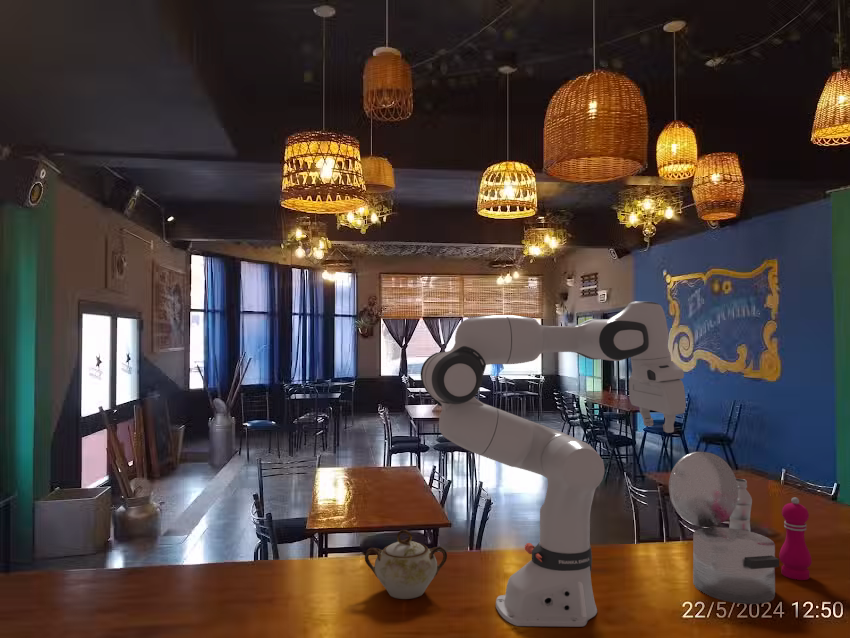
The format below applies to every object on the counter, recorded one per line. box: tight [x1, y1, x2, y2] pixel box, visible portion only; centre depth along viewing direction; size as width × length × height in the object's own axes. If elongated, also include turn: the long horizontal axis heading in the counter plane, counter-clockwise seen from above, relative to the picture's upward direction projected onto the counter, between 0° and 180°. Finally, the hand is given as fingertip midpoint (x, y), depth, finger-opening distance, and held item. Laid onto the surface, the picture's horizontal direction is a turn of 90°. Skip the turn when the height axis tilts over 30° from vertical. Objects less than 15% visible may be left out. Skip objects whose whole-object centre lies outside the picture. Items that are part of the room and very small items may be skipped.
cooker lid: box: [668, 451, 738, 528], centre depth 172 cm, size 19×19×3 cm
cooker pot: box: [692, 526, 780, 605], centre depth 159 cm, size 18×22×12 cm
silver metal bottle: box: [728, 478, 753, 532], centre depth 186 cm, size 6×7×20 cm
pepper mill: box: [778, 497, 813, 581], centre depth 168 cm, size 7×7×20 cm
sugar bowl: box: [364, 529, 448, 600], centre depth 156 cm, size 20×15×15 cm
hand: (658, 428), depth 152 cm, fingers open, 8 cm apart
